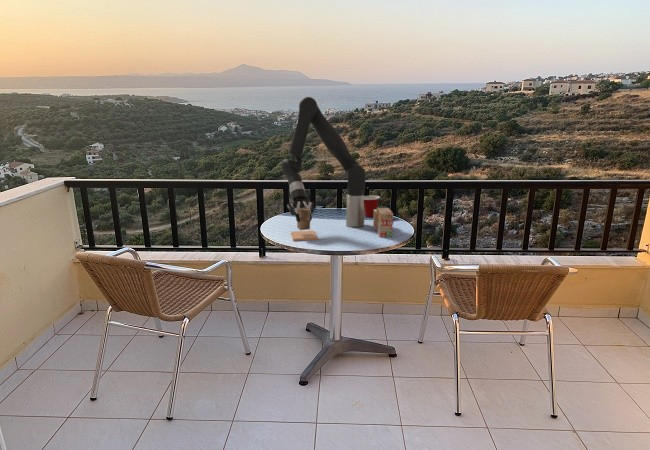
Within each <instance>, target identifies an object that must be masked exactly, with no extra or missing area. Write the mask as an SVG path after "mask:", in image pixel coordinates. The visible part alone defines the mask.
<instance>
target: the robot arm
mask: <svg viewBox="0 0 650 450" xmlns="http://www.w3.org/2000/svg"><path fill="white" fill-rule="evenodd" d="M311 124H312V126H313V128H314V130H315V132H316V133H317V135H318V137H319V139H320V140H321V142H322V144H323V145H324V146H325V147H326V148H327V150H328V151H329V153H330V154H331V155H332V156H333V157H334V158H335V159H336V160H337V161H338V163H339V164H340V166H341V167H342V169H343V170H344V172H345V173H346V177H347V188H346V209H345V210H346V211H345V212H346V213H345V214H346V215H345V216H346V218H345V225H346V226H347V227H349V228H360V227H364V226H365V210H364V196H365V189H366V170H365V168H364V167H363V166H362V165H361V164H359V162H358V161H357V160H356V159H355V158H354V156H353V155H352V154H351V153H350V151H349V148H348V147H347V145H346V143H345V141H344V139H343V138H342V136H341V135H340V133H339V132H338V130H337V129H336V128H335V127H334V126H333V125H332V124H331V122H329V120H328V119H326V117H325V116H324V114H323V112H322V111H321V109H320V108H319V105H318V103H317V101H316V99H315V98H313V97H311V96H305V97H303V98H302V99H301V100H300V101H299V103H298V117H297V123H296V127H295V130H294V132H293V135H292V139H291V142H290V146H289V151H288V153H289V154H290V155H291V156H294V159H291V158H284V159H283V160H282V162H281V171H282V173H283V174H284V176H285V178H286V180H287V181H288V182H287V183H288V186H289V194H290V197H291V201H292V202H291V203H290V202H288V203H287V205H286V206H287V207H286V208H287V209H288V212H289V213H290V215H291V216H295V220H296V222H297V221H298V222H300V217H299V214H298V208H303V207H306V208H309V209H310V223H311V221H312V220H313V216H312V215H313V214H314V212H315V202H314V201H312V202H311V201H309V200H308V197H307V193H306V189H305V186H304V184H303V183H304V182H303V178H302V176H301V175H300V172H301V171H302V168H303V152H304V148H305V145H306V141H307V136H308V131H309V130H310V129H309V127H310V125H311ZM308 205H309V206H308ZM293 207H294V208H295V210H294V208H293Z"/></svg>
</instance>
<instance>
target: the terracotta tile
mask: <svg viewBox="0 0 650 450" xmlns="http://www.w3.org/2000/svg"><path fill="white" fill-rule="evenodd" d="M290 235H292V236H291V239H292V240H293V242H300V241H299V240H304V241H318V240H319V237H318V235H317V233H316V231H315V230H298V231H297V230H296V231H295V230H294V231H290Z"/></svg>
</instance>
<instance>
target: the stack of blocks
mask: <svg viewBox="0 0 650 450" xmlns="http://www.w3.org/2000/svg"><path fill="white" fill-rule="evenodd" d="M373 215H374V217H372V219H373V222H372V223H373V225H372V226H373V227H374V229H375V231H376V233H377V235H378V236H379V238H392V237H393V226H394V213H393V210H391V209H390V208H389V207H377V210H374V212H373Z"/></svg>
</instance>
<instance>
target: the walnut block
mask: <svg viewBox="0 0 650 450" xmlns="http://www.w3.org/2000/svg"><path fill="white" fill-rule="evenodd" d="M310 211H311V208H310V207H309V208H306V207H303V208H298V214H299V217H300V222H298V221H296V222H297V223H296V226H297V227H296V228H297V229H298V231H309V230H311V222H310Z"/></svg>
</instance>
